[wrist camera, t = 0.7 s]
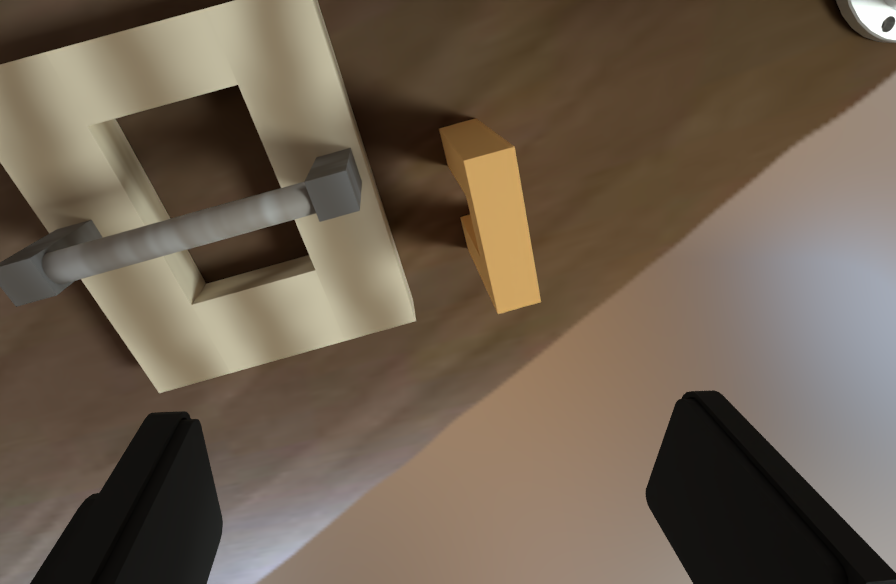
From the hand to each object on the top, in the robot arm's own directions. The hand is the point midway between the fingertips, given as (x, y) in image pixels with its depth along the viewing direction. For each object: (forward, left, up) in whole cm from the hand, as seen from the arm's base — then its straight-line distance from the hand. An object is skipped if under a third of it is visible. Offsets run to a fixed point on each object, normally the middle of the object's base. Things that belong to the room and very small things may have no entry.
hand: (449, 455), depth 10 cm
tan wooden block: (-4, +2, -24) cm, 25 cm away
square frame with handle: (+11, -1, -24) cm, 27 cm away
